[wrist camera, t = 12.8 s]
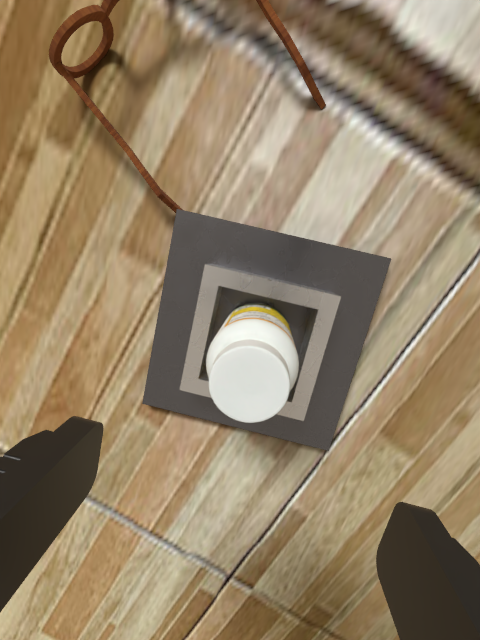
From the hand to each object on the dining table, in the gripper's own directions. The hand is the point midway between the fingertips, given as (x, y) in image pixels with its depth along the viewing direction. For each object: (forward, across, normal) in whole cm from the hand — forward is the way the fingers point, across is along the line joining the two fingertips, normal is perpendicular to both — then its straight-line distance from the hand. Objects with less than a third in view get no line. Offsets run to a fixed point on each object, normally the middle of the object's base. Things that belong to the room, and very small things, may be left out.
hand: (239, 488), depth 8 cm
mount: (+18, 0, 0) cm, 18 cm away
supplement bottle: (+17, 0, 0) cm, 17 cm away
